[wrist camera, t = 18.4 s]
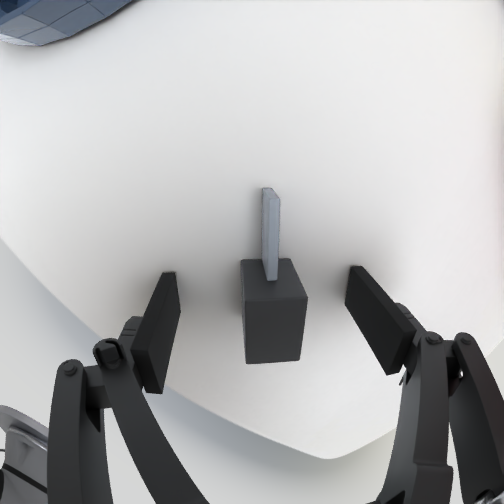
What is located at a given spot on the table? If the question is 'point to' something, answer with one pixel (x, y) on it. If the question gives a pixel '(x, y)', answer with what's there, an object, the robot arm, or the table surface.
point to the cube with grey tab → (272, 297)
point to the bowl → (50, 18)
